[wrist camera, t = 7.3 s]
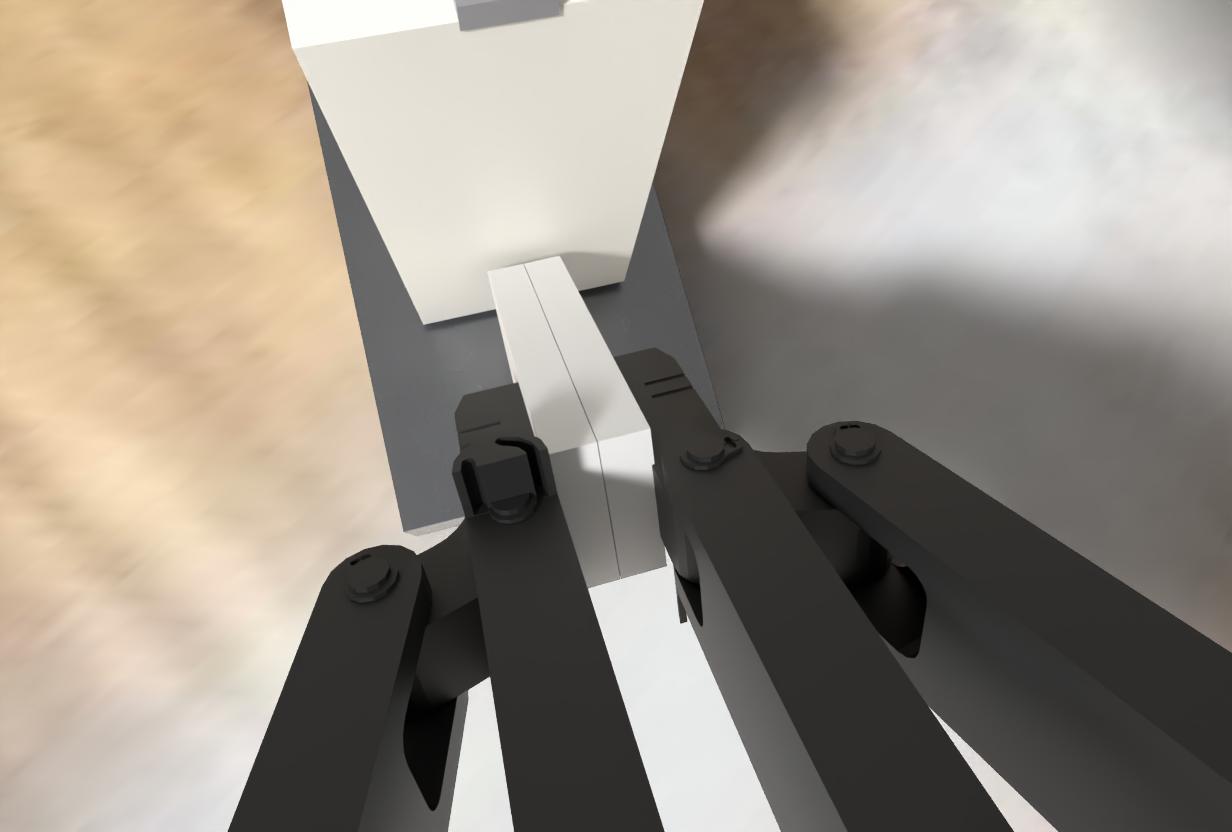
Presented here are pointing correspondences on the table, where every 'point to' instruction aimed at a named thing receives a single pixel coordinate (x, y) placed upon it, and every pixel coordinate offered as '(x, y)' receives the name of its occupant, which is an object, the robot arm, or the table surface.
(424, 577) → the robot arm
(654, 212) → the grey slotted track base
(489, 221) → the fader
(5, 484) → the table surface
